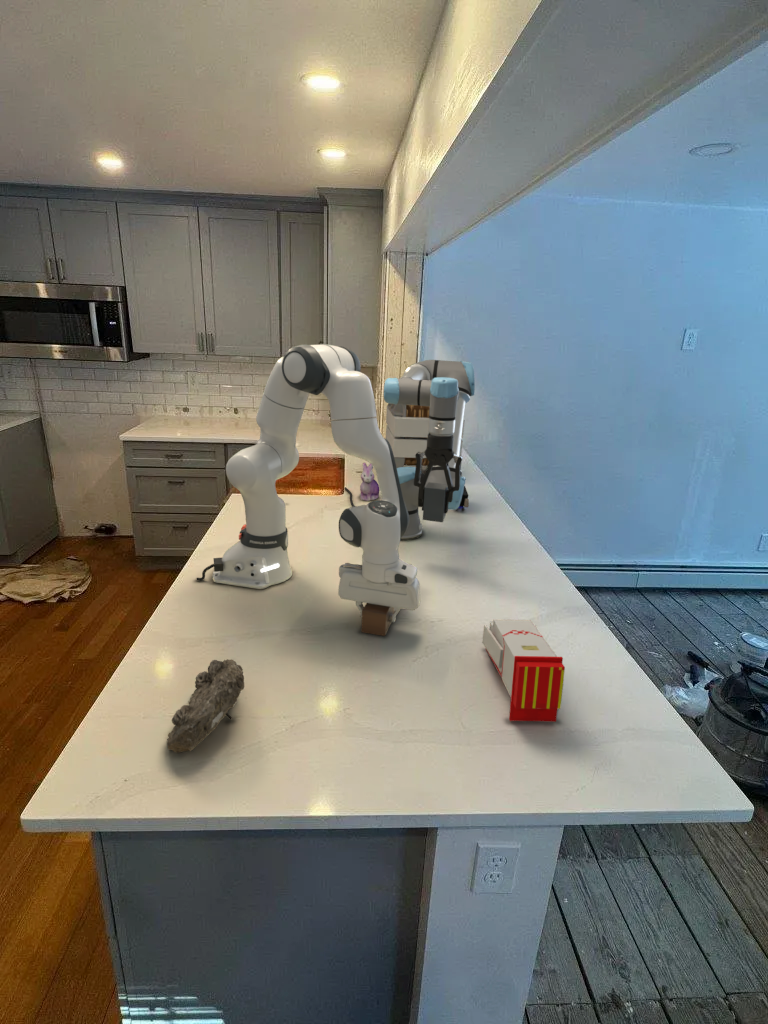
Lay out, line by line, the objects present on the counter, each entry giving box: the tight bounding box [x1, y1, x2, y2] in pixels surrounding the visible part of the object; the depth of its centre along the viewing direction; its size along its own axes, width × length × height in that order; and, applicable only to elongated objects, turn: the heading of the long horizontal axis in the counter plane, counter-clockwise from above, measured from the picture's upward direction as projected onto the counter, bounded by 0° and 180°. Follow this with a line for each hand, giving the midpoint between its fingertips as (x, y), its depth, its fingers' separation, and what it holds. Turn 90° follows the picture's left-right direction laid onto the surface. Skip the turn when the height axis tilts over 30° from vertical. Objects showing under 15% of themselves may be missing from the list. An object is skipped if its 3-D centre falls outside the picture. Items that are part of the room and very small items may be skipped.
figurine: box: [359, 462, 380, 502], centre depth 233 cm, size 9×10×15 cm
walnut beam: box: [360, 563, 413, 637], centre depth 151 cm, size 30×6×6 cm, turn 166°
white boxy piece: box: [384, 403, 465, 471], centre depth 268 cm, size 34×33×41 cm
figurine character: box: [455, 485, 470, 512], centre depth 229 cm, size 7×8×15 cm
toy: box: [481, 618, 566, 722], centre depth 122 cm, size 12×13×30 cm
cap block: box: [422, 482, 448, 523], centre depth 167 cm, size 6×6×10 cm
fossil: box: [166, 658, 245, 754], centre depth 106 cm, size 22×10×15 cm
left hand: (377, 618), depth 141 cm, fingers closed on walnut beam, 6 cm apart
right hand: (434, 510), depth 168 cm, fingers closed on cap block, 6 cm apart
